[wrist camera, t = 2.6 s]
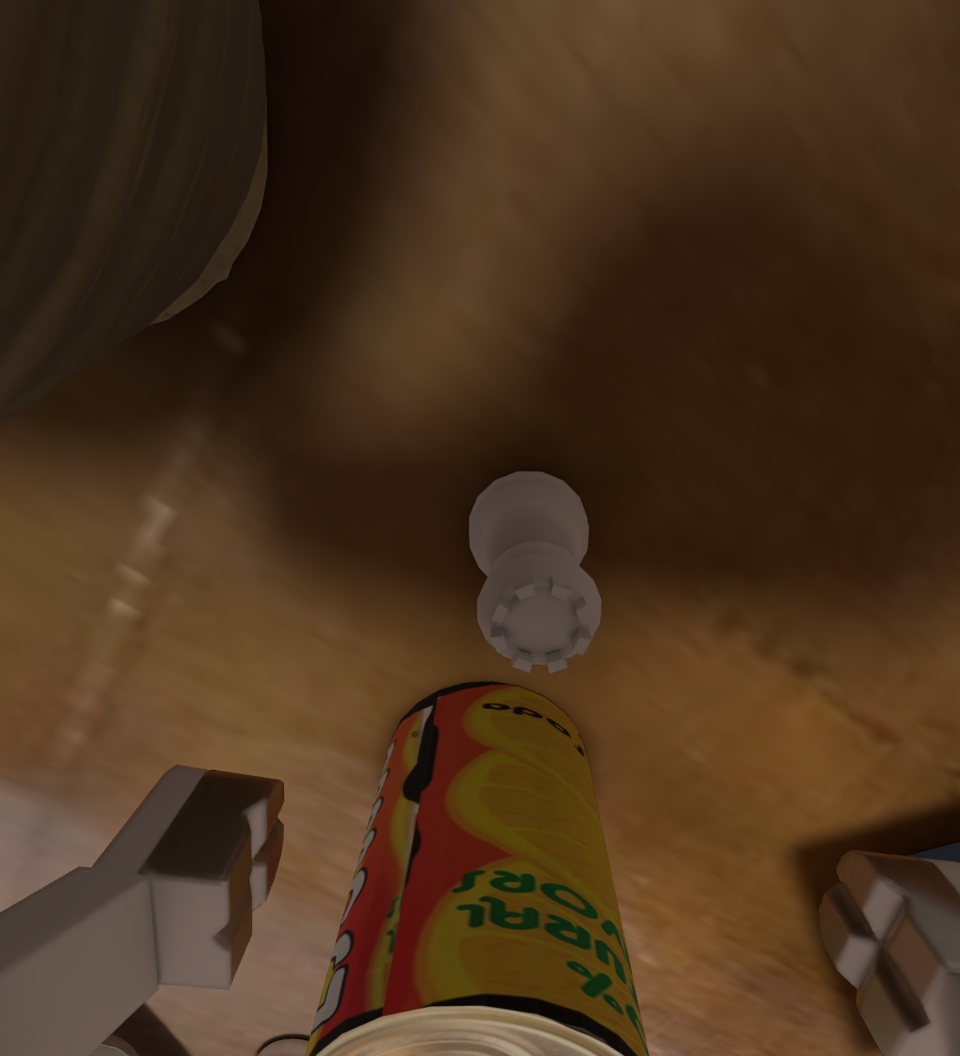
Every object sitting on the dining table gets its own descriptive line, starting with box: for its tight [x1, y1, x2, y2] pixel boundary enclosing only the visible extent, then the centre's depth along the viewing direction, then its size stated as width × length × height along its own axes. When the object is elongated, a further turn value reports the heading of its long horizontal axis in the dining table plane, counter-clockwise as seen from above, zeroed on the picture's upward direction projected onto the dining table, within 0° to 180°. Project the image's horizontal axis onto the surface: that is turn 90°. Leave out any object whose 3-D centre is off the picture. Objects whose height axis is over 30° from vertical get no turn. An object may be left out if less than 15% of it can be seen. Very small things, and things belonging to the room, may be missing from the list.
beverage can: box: [305, 682, 649, 1056], centre depth 19 cm, size 9×9×12 cm
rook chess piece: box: [469, 471, 602, 674], centre depth 17 cm, size 4×4×8 cm
